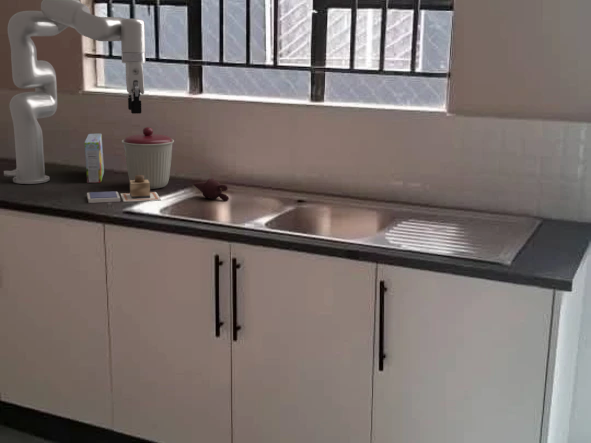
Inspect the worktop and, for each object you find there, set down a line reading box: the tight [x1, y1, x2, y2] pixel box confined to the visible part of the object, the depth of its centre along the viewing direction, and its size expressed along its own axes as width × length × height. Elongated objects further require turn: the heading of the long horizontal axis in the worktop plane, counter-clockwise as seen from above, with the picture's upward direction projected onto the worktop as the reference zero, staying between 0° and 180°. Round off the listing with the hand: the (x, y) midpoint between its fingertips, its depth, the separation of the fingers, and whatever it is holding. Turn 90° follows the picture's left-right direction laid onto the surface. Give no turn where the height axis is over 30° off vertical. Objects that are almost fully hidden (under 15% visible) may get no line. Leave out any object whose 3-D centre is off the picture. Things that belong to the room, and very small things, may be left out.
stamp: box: [129, 175, 151, 199], centre depth 274 cm, size 6×6×7 cm
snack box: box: [84, 133, 105, 184], centre depth 305 cm, size 21×6×15 cm, turn 10°
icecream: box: [192, 178, 230, 202], centre depth 275 cm, size 7×7×15 cm
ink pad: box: [86, 190, 121, 204], centre depth 272 cm, size 10×10×2 cm
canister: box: [121, 126, 175, 190], centre depth 290 cm, size 18×18×21 cm
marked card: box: [120, 191, 162, 203], centre depth 275 cm, size 12×12×1 cm
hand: (134, 111), depth 269 cm, fingers open, 9 cm apart
